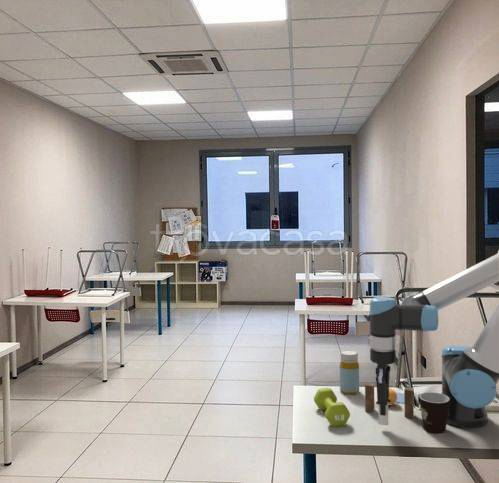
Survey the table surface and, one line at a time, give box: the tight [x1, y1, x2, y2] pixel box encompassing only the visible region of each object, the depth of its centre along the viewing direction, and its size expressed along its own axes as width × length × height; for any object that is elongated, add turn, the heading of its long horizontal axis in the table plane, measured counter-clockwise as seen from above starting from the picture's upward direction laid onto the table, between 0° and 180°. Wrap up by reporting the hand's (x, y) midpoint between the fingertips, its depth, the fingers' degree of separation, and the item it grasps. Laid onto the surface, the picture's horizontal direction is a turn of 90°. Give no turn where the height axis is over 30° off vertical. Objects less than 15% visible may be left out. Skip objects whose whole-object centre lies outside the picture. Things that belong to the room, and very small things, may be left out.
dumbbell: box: [313, 387, 351, 428], centre depth 161 cm, size 16×8×7 cm, turn 8°
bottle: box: [339, 349, 360, 396], centre depth 181 cm, size 7×7×15 cm
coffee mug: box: [417, 391, 449, 435], centre depth 151 cm, size 12×9×10 cm
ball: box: [387, 387, 397, 406], centre depth 169 cm, size 6×6×6 cm
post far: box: [364, 382, 375, 413], centre depth 164 cm, size 3×3×9 cm
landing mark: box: [394, 391, 404, 404], centre depth 175 cm, size 9×9×1 cm
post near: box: [403, 386, 415, 419], centre depth 159 cm, size 3×3×9 cm
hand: (383, 423), depth 150 cm, fingers closed
